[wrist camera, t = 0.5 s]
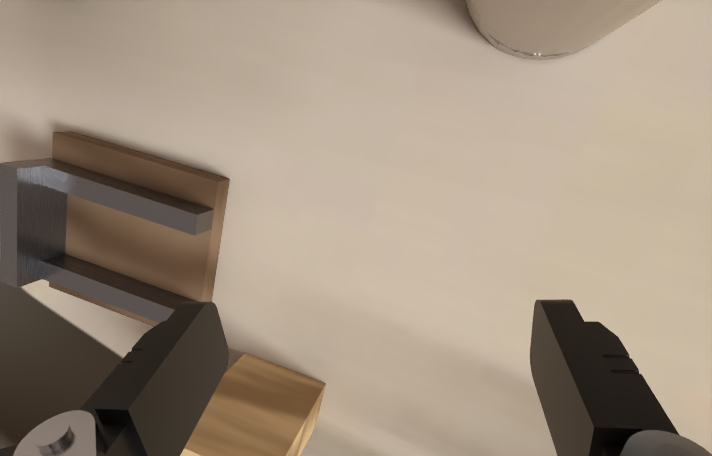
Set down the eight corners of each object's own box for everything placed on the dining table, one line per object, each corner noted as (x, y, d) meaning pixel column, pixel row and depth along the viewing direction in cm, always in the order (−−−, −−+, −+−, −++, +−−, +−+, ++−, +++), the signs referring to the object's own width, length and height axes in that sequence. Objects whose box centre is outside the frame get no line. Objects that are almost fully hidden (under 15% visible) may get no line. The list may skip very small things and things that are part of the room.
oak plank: (244, 352, 35) (161, 438, 26) (325, 383, 34) (269, 485, 25) (237, 393, 36) (154, 489, 27) (315, 425, 35) (257, 537, 26)
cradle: (70, 131, 34) (-1, 133, 29) (229, 179, 32) (182, 190, 27) (64, 280, 38) (0, 305, 33) (206, 333, 36) (161, 369, 30)
